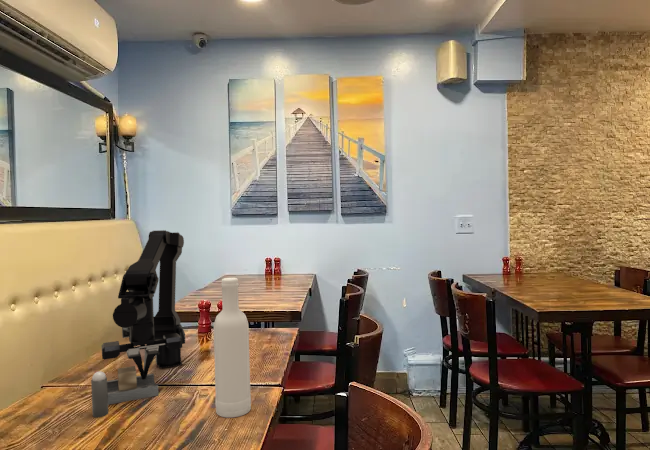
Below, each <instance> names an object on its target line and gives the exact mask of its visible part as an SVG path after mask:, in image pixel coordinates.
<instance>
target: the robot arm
mask: <svg viewBox="0 0 650 450" xmlns="http://www.w3.org/2000/svg"><path fill="white" fill-rule="evenodd" d="M184 239H185V238H184V236H183V235H182V234H180V232H178V231H177V232H171V231H169V230H166V229H165V230H164V229H163V230H152V231H149V233H148V239H147V241H146V244H145V246H144V248H143V250H142V252H141V254H140V256H139V258H138V260H137V261H136V262H134V263H132V264H130V265H129V267H128V268H127V269H126V271H125V273H124V274H123V275H122V280H121V284H120V288H119V292H118V295H117V299H119V300H120V304H118V305H117V306H116V307H115V308H114V310H113V313H112V320H113V322H114V323H115V324H116V326H118V327H120V328H121V336H122V338H123V339H125V338H128V341H129V343H123V344H120V341H119V340H115V341H107V342H103V344H101V359H102V360H109V359H116V358H118V357H119V356H120V354H121V353H124V352H125V353H126V356H127V359H128V360H133V361H134V364H135V365H136V367H137V369H138V372H139V376H141V377H142V380H144V379H146V377H147V374H149V371H150V368H151V365H152V363H153V361H154V359H155V363H156V365H157V366H158V368H159V369H165V368H166V369H167V368H171V367H172V368H173V367H178V366H182V365H183V362H182V355H181V353H182V352H181V349H182V348H183V345H184V344H186V333H185V330H184V328H183V326H182V324H181V318H180V316H179V314H178V312H177V311H176V285H177V283H176V281H177V279H176V276H177V261H178V260H179V258H180V257H181V255H182V252H183V248H184V244H185V240H184ZM158 264H159V277H158V274H157V267H158ZM158 285H159V286H158ZM157 288H158V311H157V312H156V313H155V315H154V297H155V294H156V291H157ZM141 350H144V360H143V359H142V354H141V352H140V351H141Z"/></svg>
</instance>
